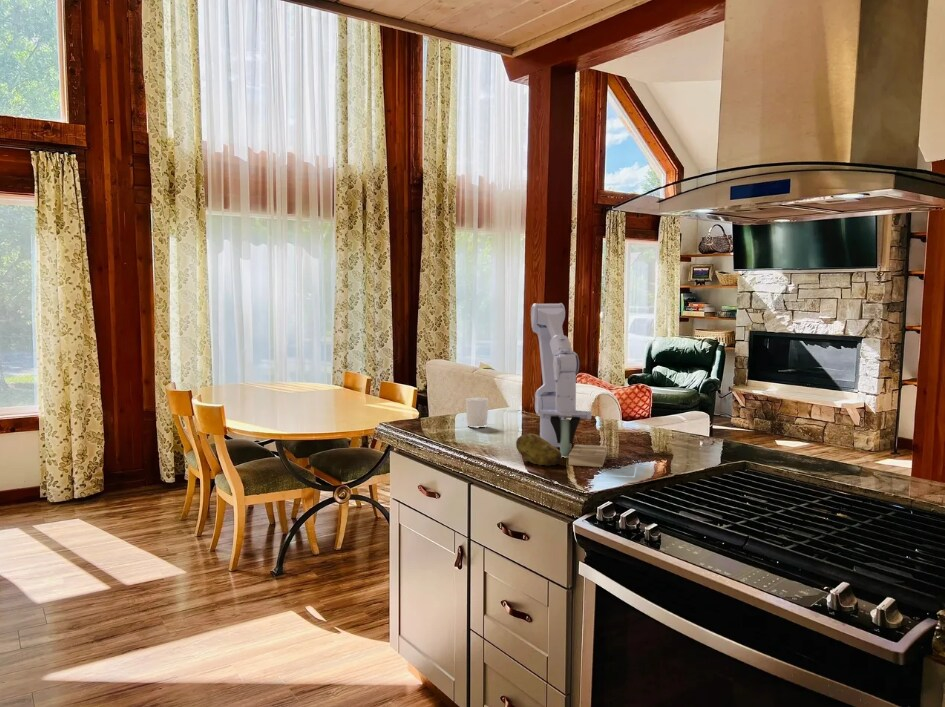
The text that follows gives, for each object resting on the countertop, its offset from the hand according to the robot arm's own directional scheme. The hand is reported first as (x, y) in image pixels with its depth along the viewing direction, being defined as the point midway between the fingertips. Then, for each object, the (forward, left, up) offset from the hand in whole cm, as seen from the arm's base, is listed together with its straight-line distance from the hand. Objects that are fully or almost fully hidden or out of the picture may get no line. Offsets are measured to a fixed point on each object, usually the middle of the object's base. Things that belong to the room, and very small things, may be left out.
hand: (565, 442), depth 204 cm
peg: (0, 0, -3) cm, 3 cm away
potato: (+12, -6, -4) cm, 14 cm away
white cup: (-38, -36, -4) cm, 52 cm away
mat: (0, 0, -4) cm, 4 cm away
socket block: (+5, +7, -4) cm, 9 cm away
